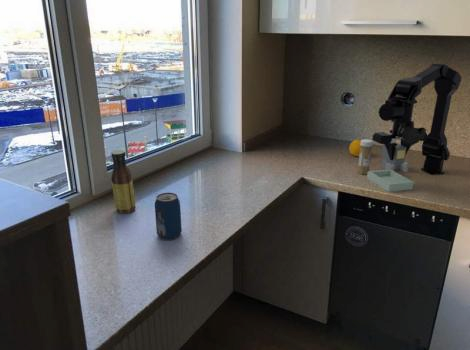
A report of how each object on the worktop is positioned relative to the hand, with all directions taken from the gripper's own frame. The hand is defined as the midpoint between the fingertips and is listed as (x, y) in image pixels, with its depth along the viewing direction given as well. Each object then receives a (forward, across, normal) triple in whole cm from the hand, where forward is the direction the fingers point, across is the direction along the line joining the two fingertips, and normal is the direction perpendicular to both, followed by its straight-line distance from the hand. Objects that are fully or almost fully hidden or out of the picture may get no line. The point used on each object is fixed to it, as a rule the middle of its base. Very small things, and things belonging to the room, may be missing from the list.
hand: (396, 159), depth 144 cm
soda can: (+10, -84, -17) cm, 86 cm away
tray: (+10, 0, +2) cm, 10 cm away
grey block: (+1, 0, +2) cm, 2 cm away
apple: (+10, +7, +36) cm, 38 cm away
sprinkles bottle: (+10, -3, +15) cm, 19 cm away
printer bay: (+10, +11, +14) cm, 21 cm away
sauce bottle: (+10, -96, +3) cm, 97 cm away
